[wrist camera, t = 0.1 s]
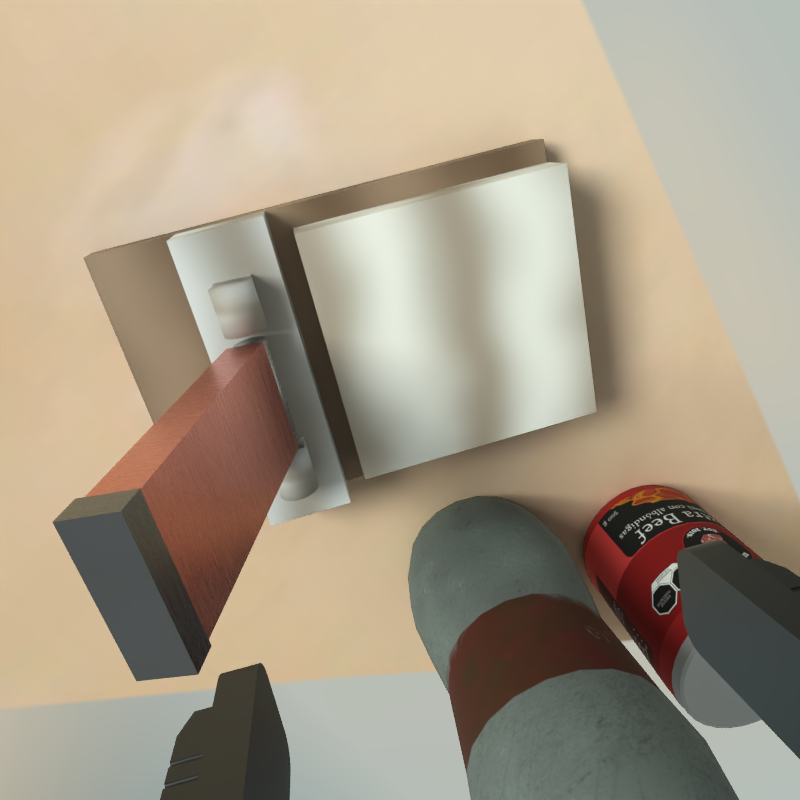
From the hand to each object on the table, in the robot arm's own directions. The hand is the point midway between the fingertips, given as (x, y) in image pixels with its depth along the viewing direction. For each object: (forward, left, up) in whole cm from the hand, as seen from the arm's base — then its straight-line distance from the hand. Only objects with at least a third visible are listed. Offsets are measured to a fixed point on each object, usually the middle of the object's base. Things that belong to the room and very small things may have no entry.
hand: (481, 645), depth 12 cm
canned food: (+8, +21, -23) cm, 32 cm away
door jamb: (0, 0, -22) cm, 22 cm away
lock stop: (+2, -4, -17) cm, 18 cm away
